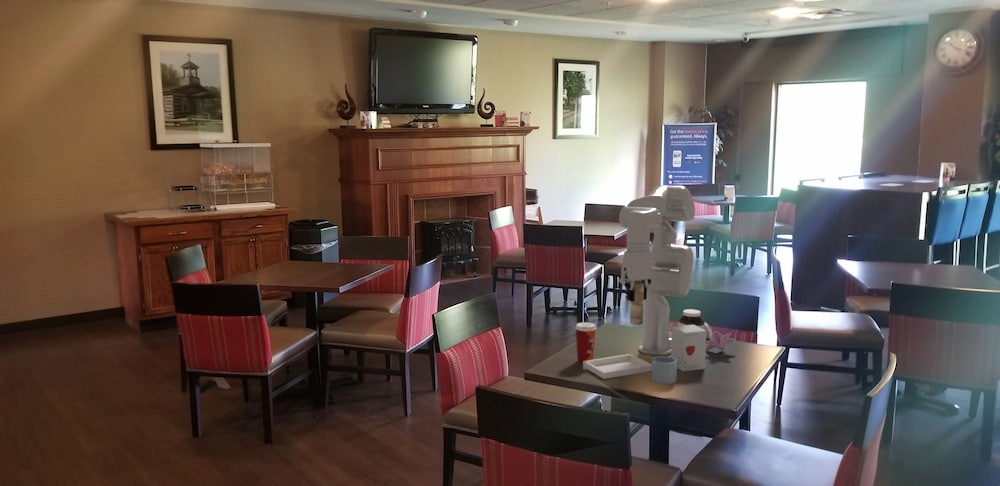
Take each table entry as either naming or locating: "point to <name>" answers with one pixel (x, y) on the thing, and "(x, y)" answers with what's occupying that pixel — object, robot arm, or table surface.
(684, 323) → the spread jar
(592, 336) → the paper cup
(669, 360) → the cup
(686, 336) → the supplement box
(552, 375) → the table surface
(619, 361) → the tray
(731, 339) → the lily
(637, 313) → the dowel
